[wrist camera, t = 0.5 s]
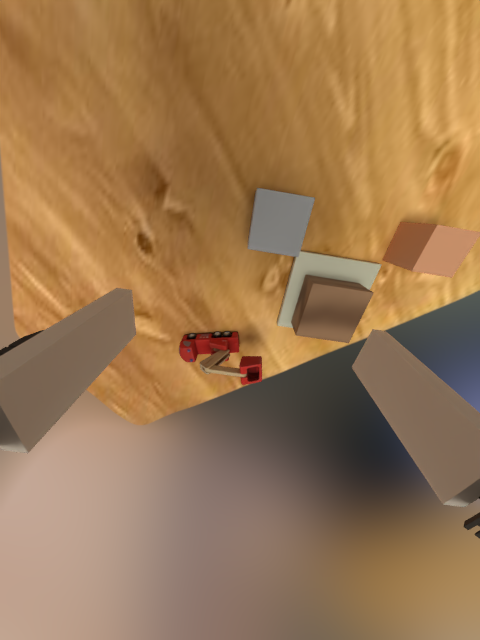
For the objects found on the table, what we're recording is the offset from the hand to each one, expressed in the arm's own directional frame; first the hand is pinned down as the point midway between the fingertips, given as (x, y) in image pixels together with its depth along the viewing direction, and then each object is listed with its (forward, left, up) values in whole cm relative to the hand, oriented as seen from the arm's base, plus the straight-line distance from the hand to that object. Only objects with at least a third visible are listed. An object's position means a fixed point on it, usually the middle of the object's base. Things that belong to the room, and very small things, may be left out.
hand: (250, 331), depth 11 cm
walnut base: (+5, +12, -20) cm, 24 cm away
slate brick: (-5, +2, -21) cm, 22 cm away
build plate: (+4, +12, -21) cm, 25 cm away
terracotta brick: (-5, +21, -21) cm, 30 cm away
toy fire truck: (+15, -3, -21) cm, 26 cm away
